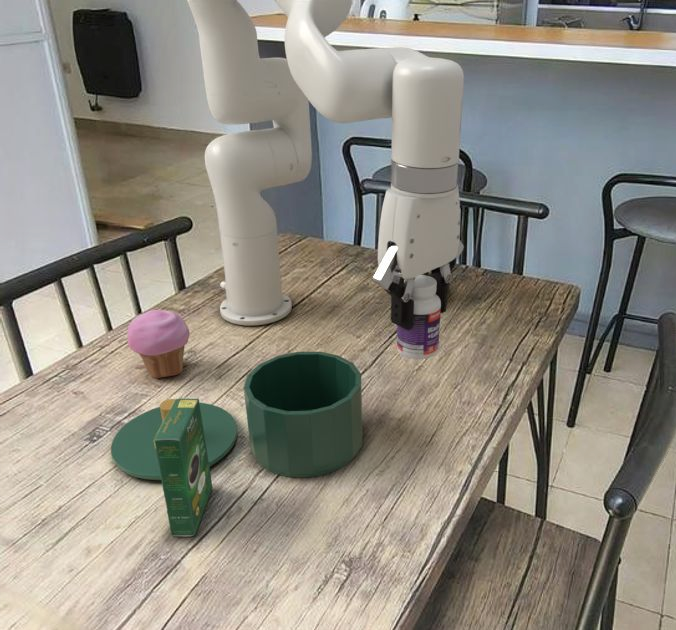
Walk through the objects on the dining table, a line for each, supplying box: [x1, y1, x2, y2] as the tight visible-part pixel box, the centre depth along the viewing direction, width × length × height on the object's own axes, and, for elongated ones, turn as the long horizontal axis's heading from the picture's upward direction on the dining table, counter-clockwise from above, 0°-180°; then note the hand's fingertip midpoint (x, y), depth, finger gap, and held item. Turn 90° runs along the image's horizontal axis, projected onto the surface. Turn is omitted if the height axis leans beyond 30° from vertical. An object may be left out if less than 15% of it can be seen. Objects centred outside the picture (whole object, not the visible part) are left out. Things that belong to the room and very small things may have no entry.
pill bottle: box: [396, 275, 442, 360], centre depth 85 cm, size 5×5×10 cm
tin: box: [243, 351, 363, 479], centre depth 88 cm, size 14×14×10 cm
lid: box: [110, 398, 238, 481], centre depth 87 cm, size 16×16×6 cm
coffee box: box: [154, 398, 213, 538], centre depth 75 cm, size 8×3×13 cm, turn 1°
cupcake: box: [126, 309, 191, 379], centre depth 102 cm, size 9×9×10 cm
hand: (418, 315), depth 85 cm, fingers closed on pill bottle, 5 cm apart
